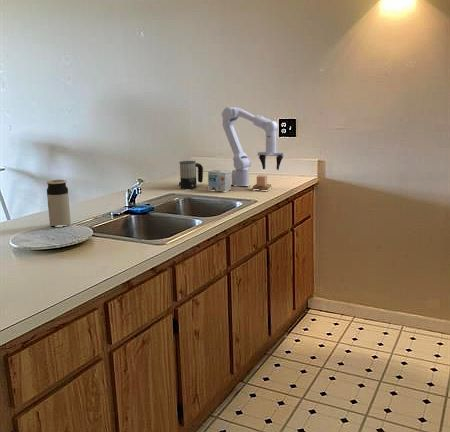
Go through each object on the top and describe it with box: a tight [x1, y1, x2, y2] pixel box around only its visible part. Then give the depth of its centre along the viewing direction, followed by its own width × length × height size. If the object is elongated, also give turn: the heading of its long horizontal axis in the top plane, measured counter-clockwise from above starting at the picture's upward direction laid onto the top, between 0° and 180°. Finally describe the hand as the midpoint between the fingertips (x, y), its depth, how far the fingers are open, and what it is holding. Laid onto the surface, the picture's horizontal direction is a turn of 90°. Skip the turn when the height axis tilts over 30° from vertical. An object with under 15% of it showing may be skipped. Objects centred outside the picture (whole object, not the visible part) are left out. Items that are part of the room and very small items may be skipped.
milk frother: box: [178, 160, 204, 190], centre depth 287 cm, size 14×16×15 cm
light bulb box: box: [207, 169, 232, 192], centre depth 276 cm, size 11×7×11 cm, turn 62°
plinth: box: [252, 183, 272, 190], centre depth 278 cm, size 8×8×2 cm
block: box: [256, 175, 268, 186], centre depth 276 cm, size 4×4×5 cm
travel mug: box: [46, 179, 72, 227], centre depth 205 cm, size 8×8×18 cm
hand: (270, 169), depth 280 cm, fingers open, 7 cm apart
